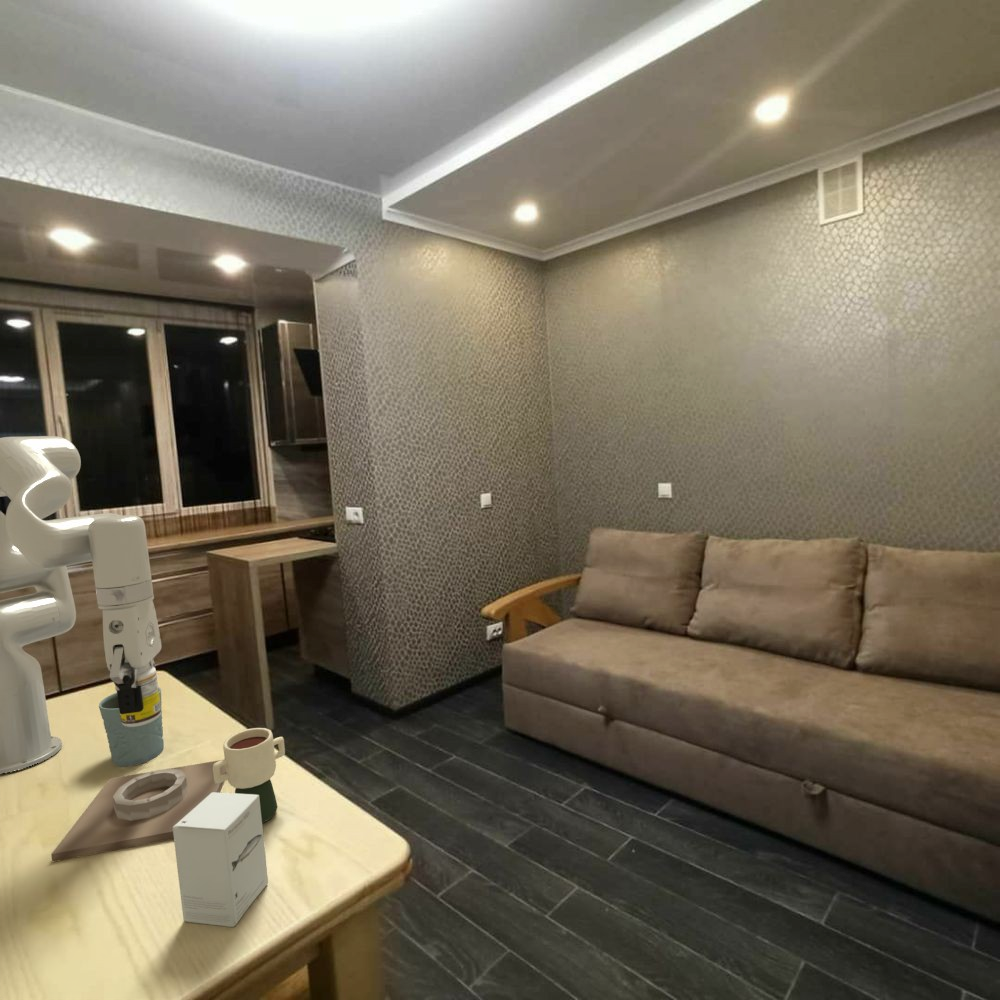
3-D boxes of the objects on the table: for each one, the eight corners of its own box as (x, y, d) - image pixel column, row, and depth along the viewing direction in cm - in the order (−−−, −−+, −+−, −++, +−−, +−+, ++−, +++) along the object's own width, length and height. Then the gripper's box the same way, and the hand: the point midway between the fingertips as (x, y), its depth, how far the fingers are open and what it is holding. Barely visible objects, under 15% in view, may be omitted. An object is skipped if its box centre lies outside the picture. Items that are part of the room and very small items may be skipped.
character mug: (280, 792, 98) (272, 718, 97) (300, 809, 93) (292, 731, 92) (212, 824, 91) (202, 745, 90) (229, 845, 86) (219, 761, 84)
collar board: (52, 861, 85) (48, 837, 84) (110, 784, 104) (108, 765, 104) (202, 833, 89) (199, 810, 89) (231, 764, 108) (229, 745, 108)
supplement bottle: (116, 722, 95) (108, 661, 94) (153, 709, 99) (146, 650, 98) (128, 732, 91) (120, 668, 90) (167, 717, 95) (159, 656, 94)
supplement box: (235, 929, 71) (223, 830, 69) (181, 922, 72) (169, 826, 71) (270, 883, 78) (260, 793, 76) (221, 878, 79) (211, 789, 78)
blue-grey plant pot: (172, 737, 120) (166, 681, 119) (161, 762, 111) (154, 701, 110) (116, 748, 117) (108, 691, 116) (99, 775, 108) (90, 712, 106)
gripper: (130, 605, 85) (145, 723, 87) (169, 579, 102) (181, 679, 104) (72, 611, 84) (89, 732, 86) (121, 584, 100) (134, 686, 102)
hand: (139, 702), depth 95 cm, fingers closed on supplement bottle, 5 cm apart
